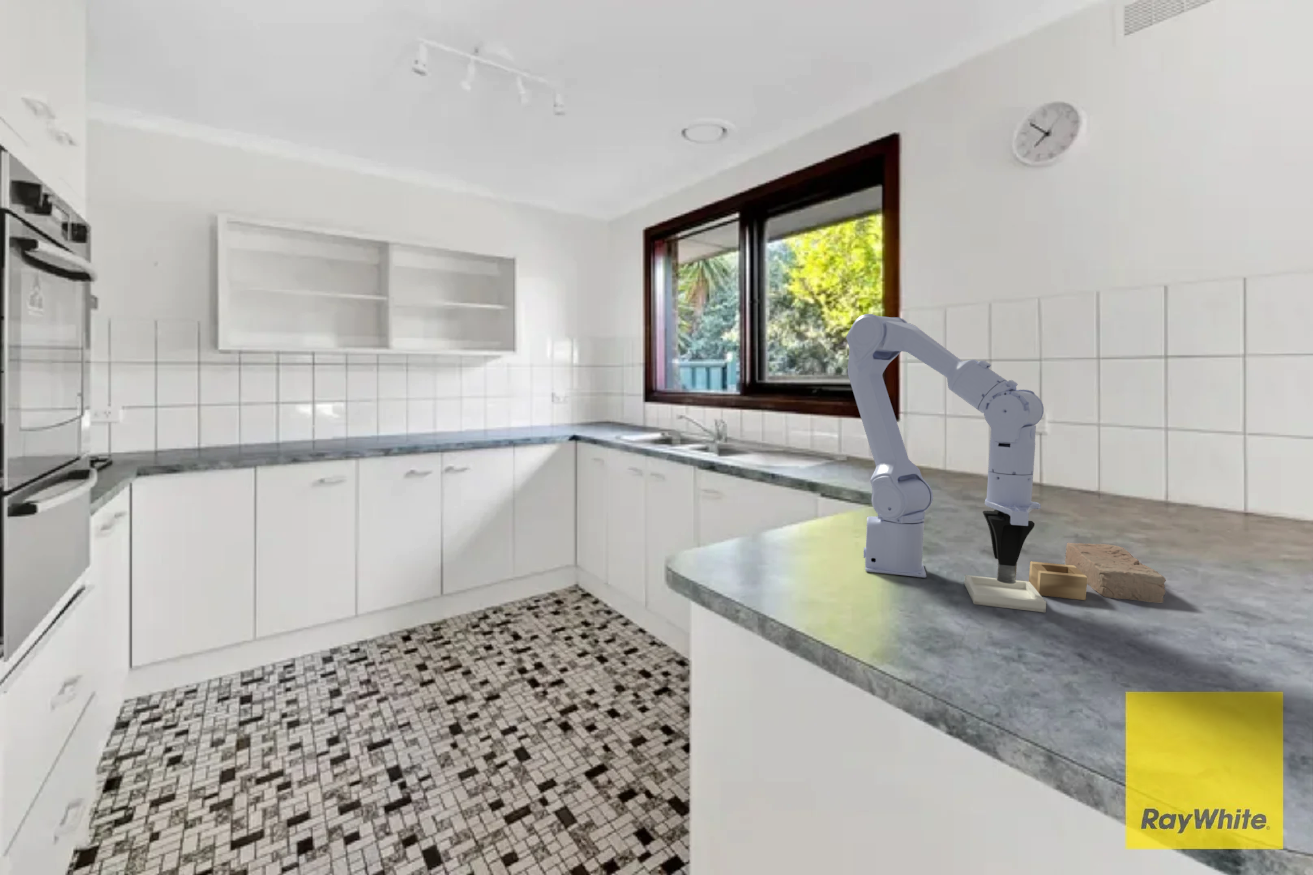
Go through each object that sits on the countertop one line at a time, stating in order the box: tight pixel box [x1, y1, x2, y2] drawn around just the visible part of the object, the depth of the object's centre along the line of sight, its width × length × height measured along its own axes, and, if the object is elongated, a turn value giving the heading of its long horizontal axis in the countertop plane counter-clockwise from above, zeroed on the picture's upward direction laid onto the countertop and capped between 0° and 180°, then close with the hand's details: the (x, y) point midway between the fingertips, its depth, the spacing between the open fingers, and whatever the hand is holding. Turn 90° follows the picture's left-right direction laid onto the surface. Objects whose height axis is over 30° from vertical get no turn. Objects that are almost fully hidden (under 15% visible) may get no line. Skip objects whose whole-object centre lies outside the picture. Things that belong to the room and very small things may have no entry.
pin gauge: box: [996, 561, 1018, 584], centre depth 88 cm, size 2×2×6 cm
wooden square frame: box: [1028, 561, 1088, 601], centre depth 91 cm, size 6×6×4 cm
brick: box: [1064, 542, 1167, 604], centre depth 95 cm, size 17×8×5 cm, turn 162°
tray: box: [963, 574, 1047, 613], centre depth 88 cm, size 9×9×2 cm
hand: (1004, 561), depth 88 cm, fingers closed on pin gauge, 2 cm apart
